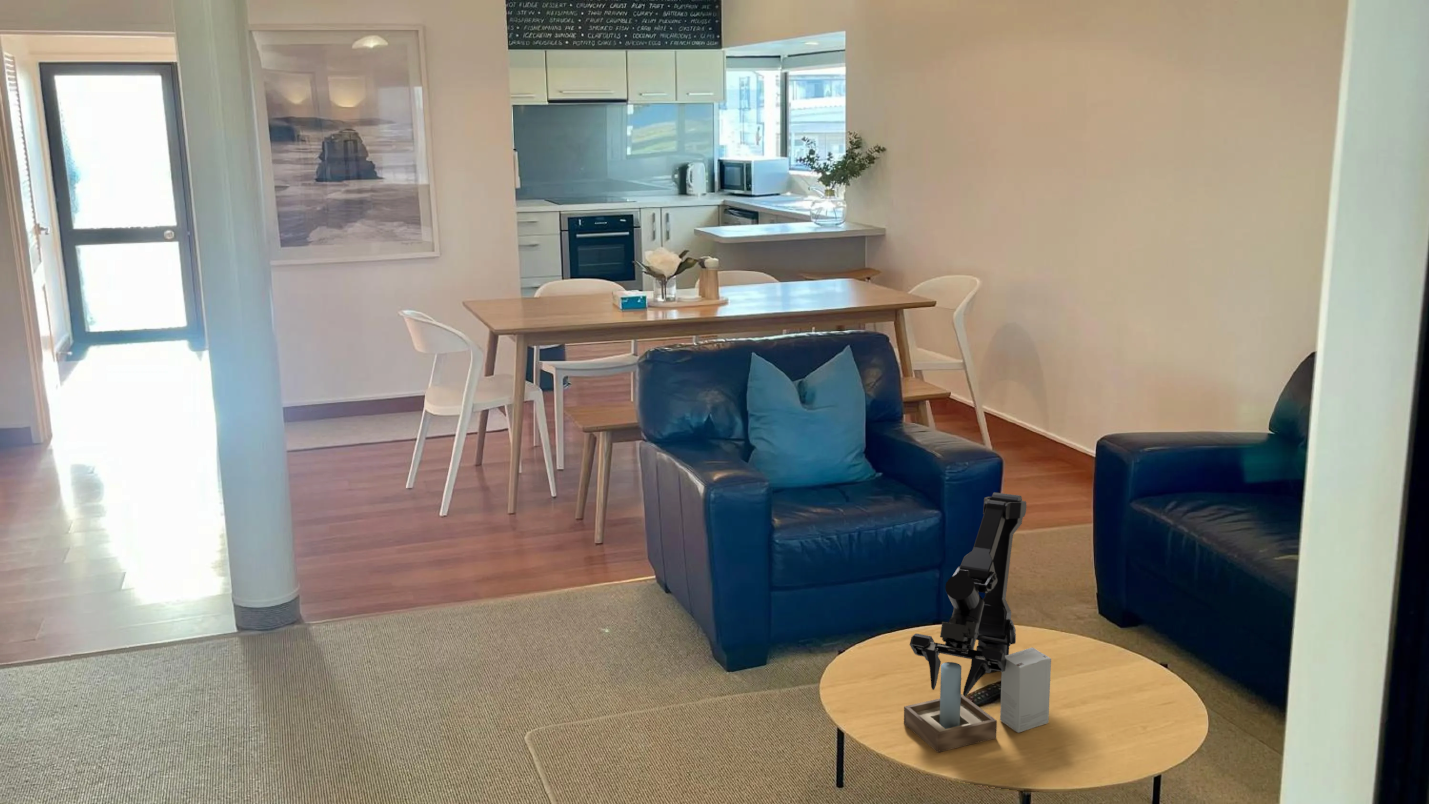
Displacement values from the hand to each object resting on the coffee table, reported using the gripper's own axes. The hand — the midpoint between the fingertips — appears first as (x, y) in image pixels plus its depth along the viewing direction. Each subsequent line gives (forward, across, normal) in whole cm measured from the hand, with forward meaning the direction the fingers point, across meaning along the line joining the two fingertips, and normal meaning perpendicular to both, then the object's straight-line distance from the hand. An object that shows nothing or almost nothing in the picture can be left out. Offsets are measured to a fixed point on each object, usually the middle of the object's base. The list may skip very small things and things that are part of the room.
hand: (948, 692), depth 234 cm
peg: (+5, 0, +7) cm, 9 cm away
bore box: (+5, 0, +7) cm, 9 cm away
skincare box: (-1, +13, +14) cm, 19 cm away
